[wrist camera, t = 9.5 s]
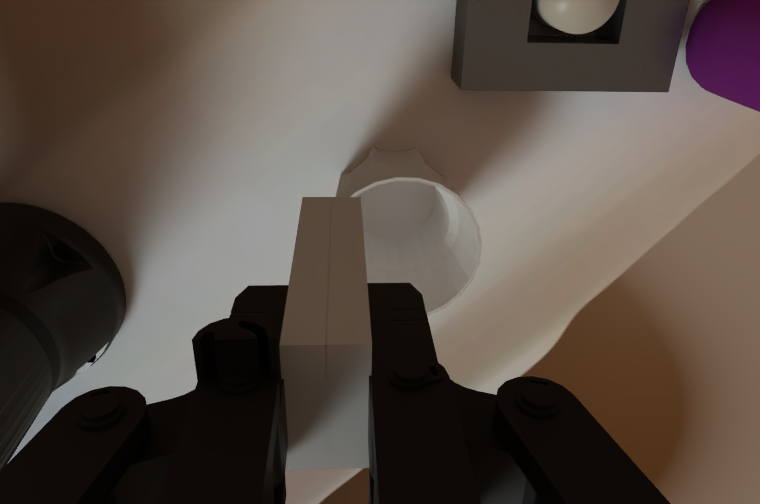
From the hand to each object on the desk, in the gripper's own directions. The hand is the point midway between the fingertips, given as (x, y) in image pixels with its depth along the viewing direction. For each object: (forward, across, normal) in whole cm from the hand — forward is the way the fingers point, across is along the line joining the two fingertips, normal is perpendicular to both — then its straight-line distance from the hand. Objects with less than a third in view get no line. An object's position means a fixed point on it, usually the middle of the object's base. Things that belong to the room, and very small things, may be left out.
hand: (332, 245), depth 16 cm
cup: (+30, +4, -10) cm, 32 cm away
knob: (+29, +15, +5) cm, 33 cm away
